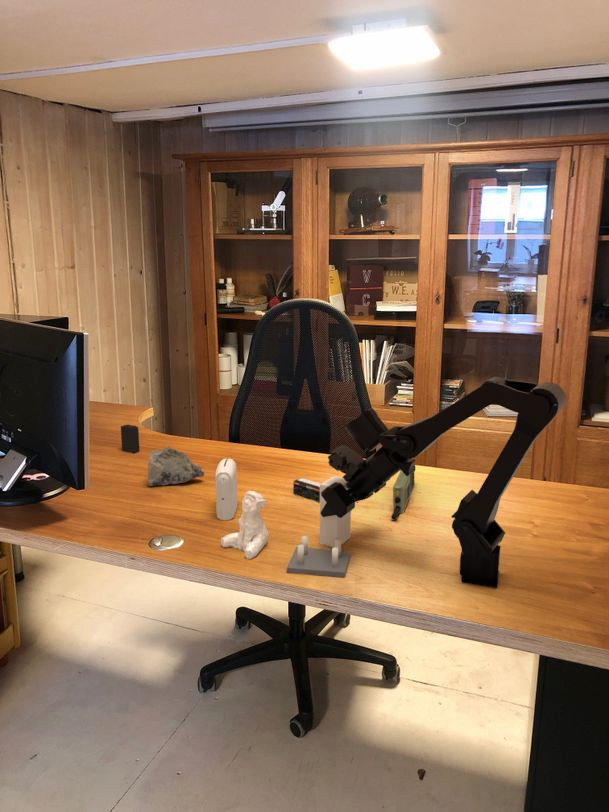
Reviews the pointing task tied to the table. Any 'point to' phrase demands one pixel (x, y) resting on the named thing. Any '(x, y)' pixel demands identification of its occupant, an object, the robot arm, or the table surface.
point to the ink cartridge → (130, 438)
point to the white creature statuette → (249, 527)
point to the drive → (333, 519)
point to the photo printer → (226, 489)
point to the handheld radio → (401, 493)
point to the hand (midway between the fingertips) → (329, 509)
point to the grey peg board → (319, 560)
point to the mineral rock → (171, 467)
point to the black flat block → (307, 489)
